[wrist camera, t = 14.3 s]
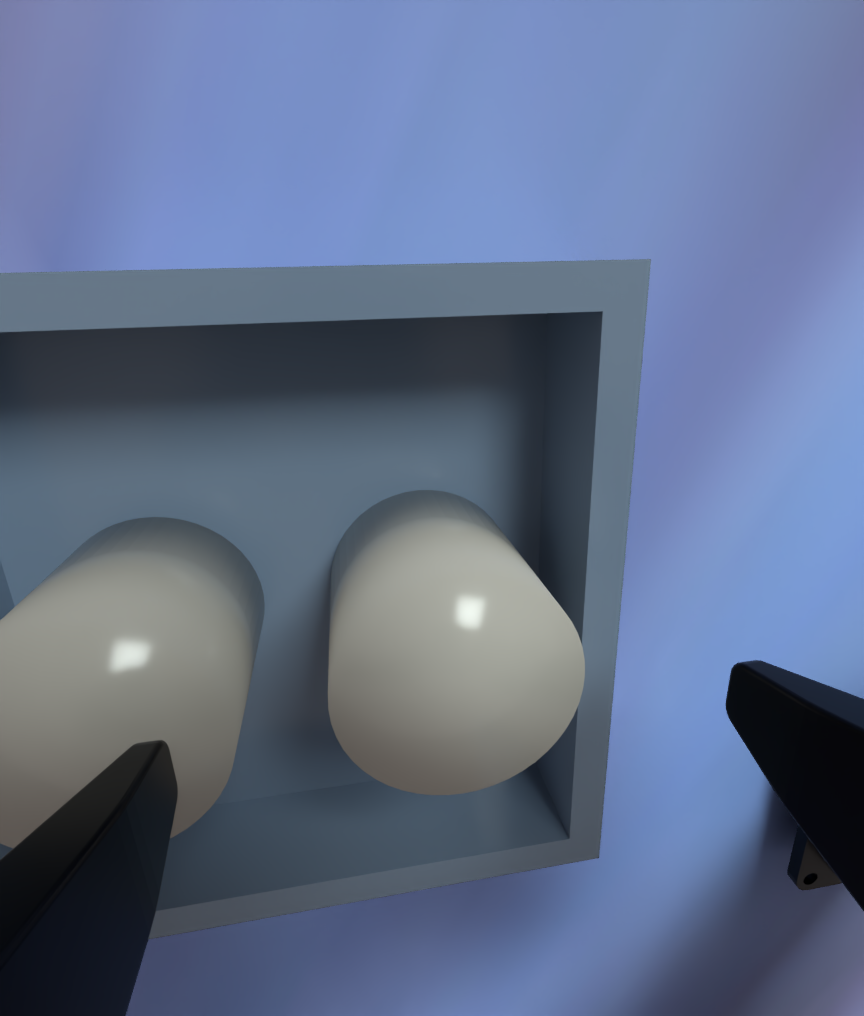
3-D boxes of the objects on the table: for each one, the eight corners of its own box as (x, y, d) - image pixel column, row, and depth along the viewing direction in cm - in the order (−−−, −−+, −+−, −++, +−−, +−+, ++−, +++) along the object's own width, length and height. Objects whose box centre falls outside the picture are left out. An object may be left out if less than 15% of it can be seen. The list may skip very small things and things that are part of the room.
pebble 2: (509, 643, 15) (578, 774, 10) (339, 664, 14) (340, 813, 10) (510, 482, 13) (592, 558, 9) (322, 498, 13) (314, 588, 8)
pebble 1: (268, 682, 14) (242, 843, 10) (73, 693, 13) (-47, 874, 9) (260, 516, 12) (226, 619, 8) (41, 517, 12) (-119, 632, 7)
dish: (554, 766, 17) (599, 857, 14) (62, 842, 15) (-3, 966, 12) (578, 273, 12) (651, 258, 9) (-122, 291, 10) (-295, 278, 7)
